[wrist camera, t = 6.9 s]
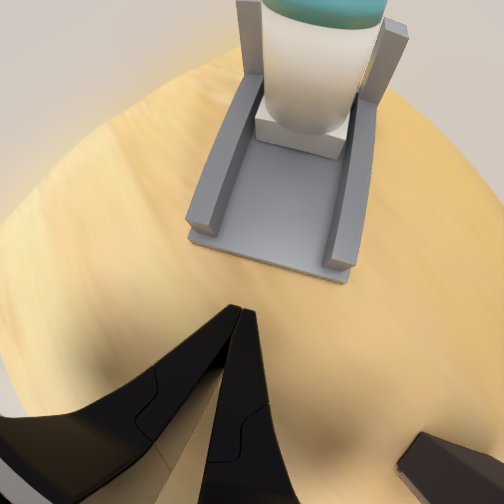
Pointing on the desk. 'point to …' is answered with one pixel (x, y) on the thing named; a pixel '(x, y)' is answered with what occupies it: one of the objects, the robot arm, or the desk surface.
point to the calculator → (451, 473)
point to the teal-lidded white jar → (313, 70)
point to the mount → (290, 172)
